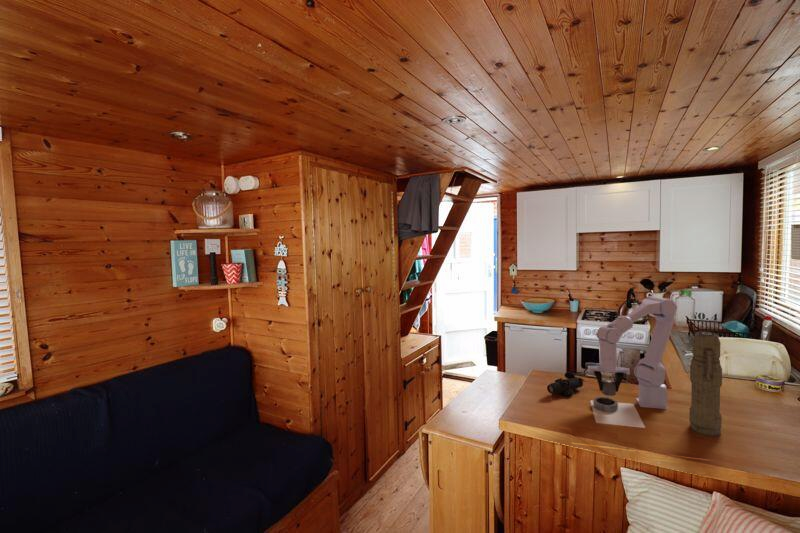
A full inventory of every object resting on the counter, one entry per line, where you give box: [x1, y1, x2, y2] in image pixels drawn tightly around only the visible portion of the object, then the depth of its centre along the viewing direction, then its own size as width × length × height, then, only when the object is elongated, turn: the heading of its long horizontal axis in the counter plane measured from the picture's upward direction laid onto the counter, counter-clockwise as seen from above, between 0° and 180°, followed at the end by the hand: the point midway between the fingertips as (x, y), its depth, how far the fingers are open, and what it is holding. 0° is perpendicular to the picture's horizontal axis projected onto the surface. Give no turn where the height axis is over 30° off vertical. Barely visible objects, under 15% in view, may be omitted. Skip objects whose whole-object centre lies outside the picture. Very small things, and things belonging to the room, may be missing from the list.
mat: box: [589, 399, 646, 429], centre depth 152 cm, size 16×20×1 cm
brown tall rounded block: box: [688, 330, 723, 438], centre depth 136 cm, size 9×12×35 cm
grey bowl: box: [592, 396, 619, 413], centre depth 157 cm, size 8×8×3 cm
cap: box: [601, 379, 617, 397], centre depth 154 cm, size 5×5×5 cm
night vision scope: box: [546, 371, 586, 398], centre depth 173 cm, size 8×18×10 cm
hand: (608, 390), depth 154 cm, fingers closed on cap, 5 cm apart
